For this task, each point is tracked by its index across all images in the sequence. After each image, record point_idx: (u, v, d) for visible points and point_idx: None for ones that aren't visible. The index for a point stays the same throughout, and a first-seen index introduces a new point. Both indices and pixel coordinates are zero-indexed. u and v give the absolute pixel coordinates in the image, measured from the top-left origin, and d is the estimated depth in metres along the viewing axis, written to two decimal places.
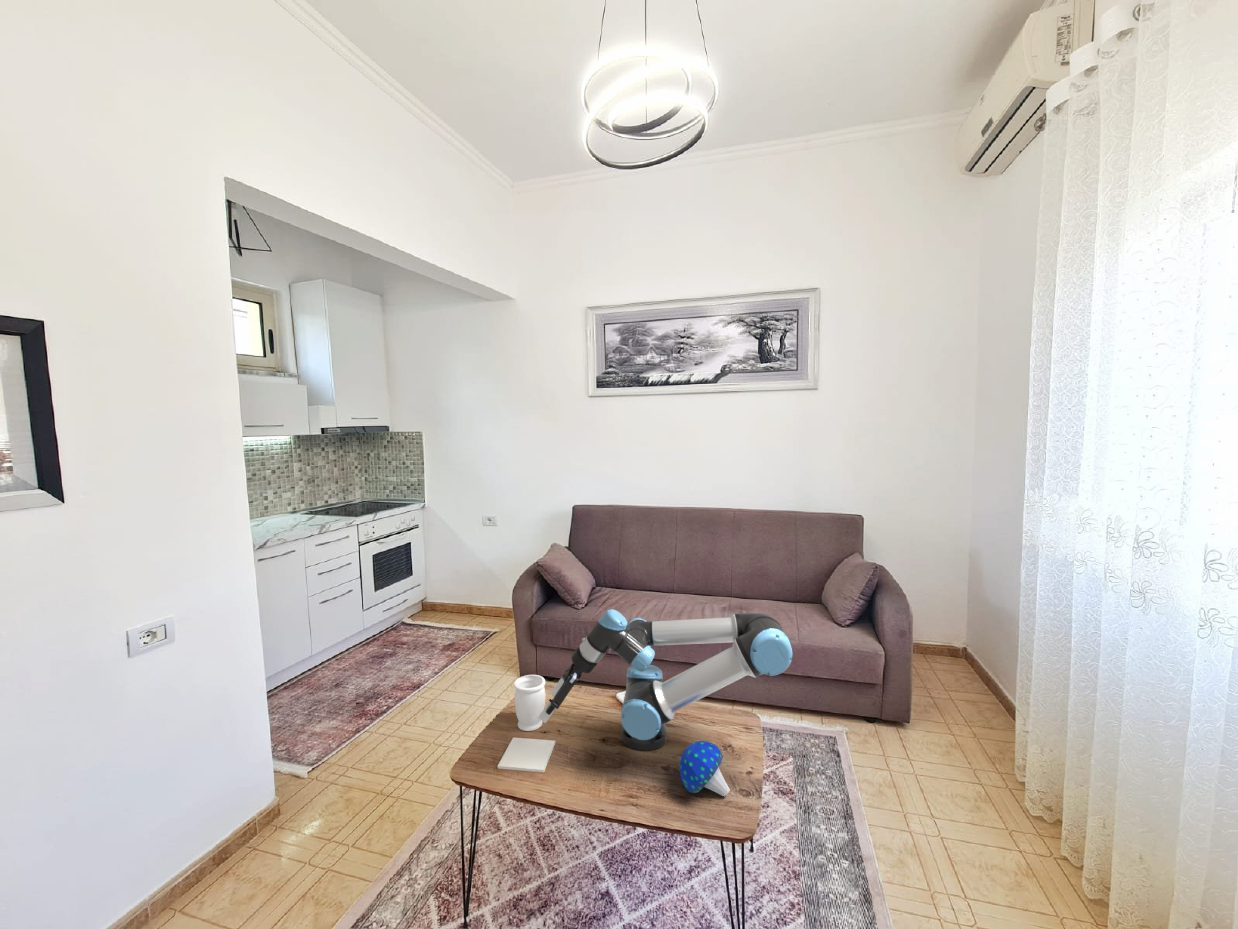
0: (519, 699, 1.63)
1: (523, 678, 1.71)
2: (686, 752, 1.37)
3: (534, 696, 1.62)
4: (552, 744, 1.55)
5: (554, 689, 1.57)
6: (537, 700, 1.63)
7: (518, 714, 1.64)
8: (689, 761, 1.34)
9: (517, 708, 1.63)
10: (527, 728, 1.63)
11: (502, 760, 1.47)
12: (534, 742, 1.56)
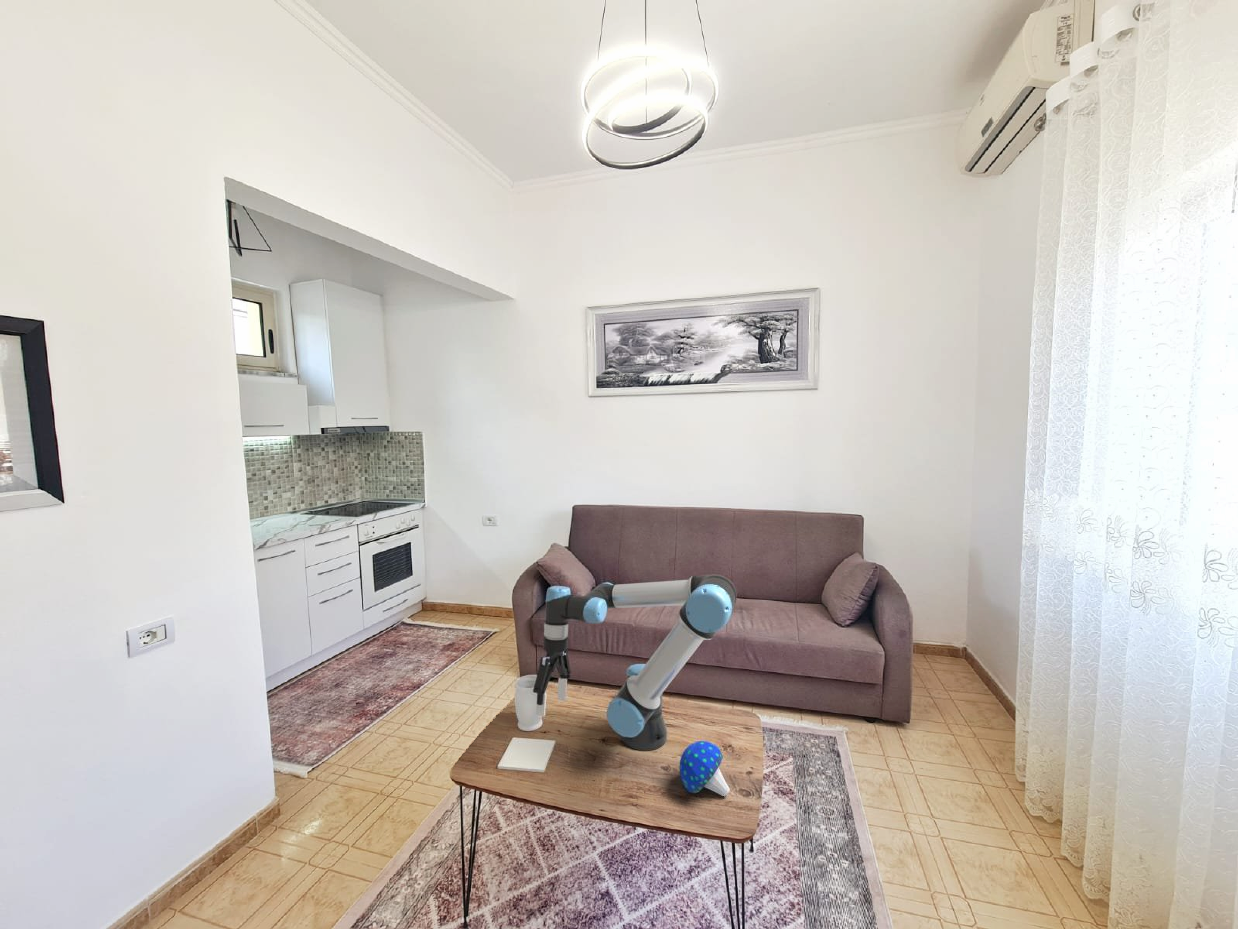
0: (519, 699, 1.63)
1: (523, 678, 1.71)
2: (686, 752, 1.37)
3: (534, 696, 1.62)
4: (552, 744, 1.55)
5: (558, 692, 1.59)
6: None
7: (518, 714, 1.64)
8: (689, 761, 1.34)
9: (517, 708, 1.63)
10: (527, 728, 1.63)
11: (502, 760, 1.47)
12: (534, 742, 1.56)
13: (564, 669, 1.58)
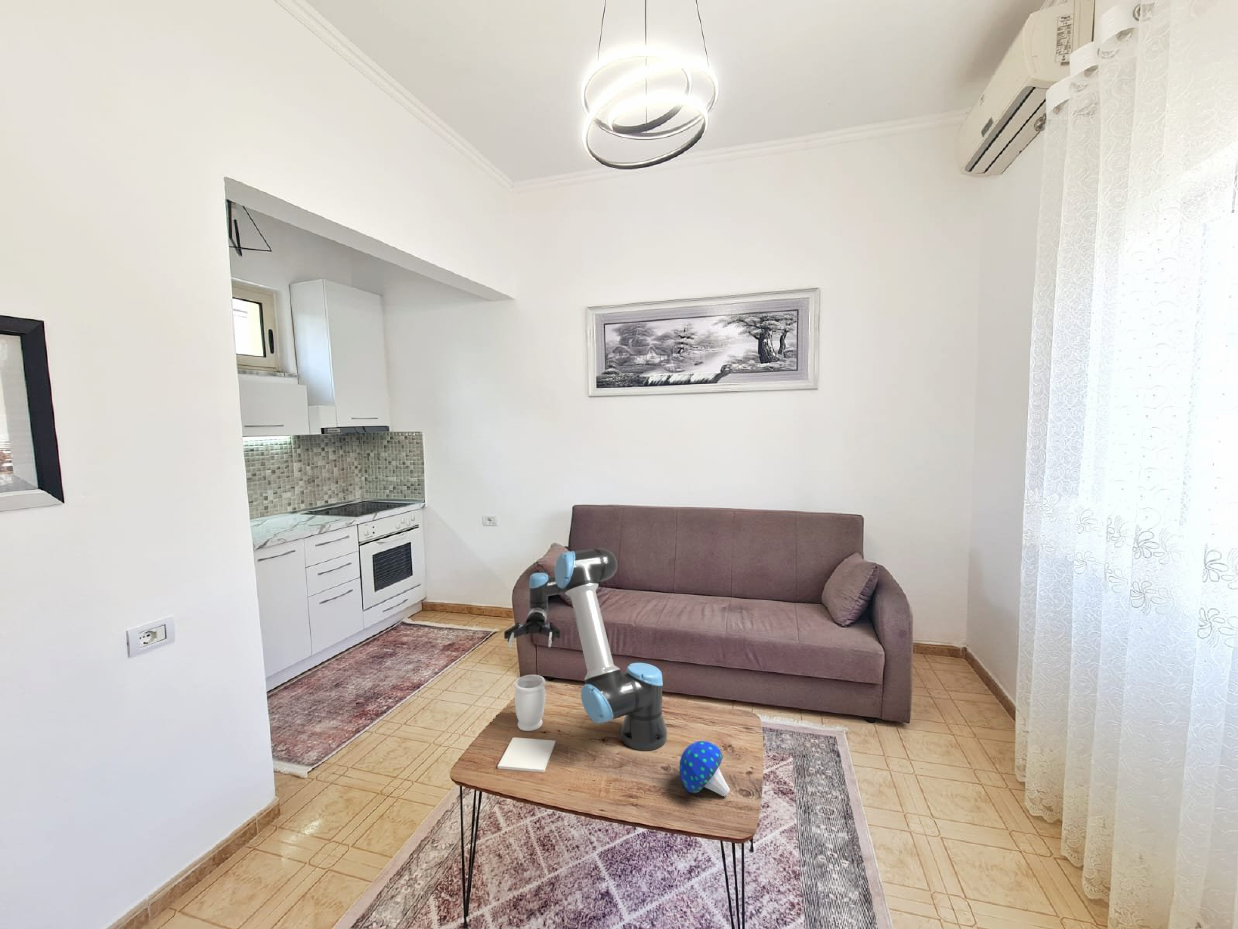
0: (519, 699, 1.63)
1: (523, 678, 1.71)
2: (686, 752, 1.37)
3: (534, 696, 1.62)
4: (552, 744, 1.55)
5: None
6: (537, 700, 1.63)
7: (518, 714, 1.64)
8: (689, 761, 1.34)
9: (517, 708, 1.63)
10: (527, 728, 1.63)
11: (502, 760, 1.47)
12: (534, 742, 1.56)
13: (547, 628, 1.81)
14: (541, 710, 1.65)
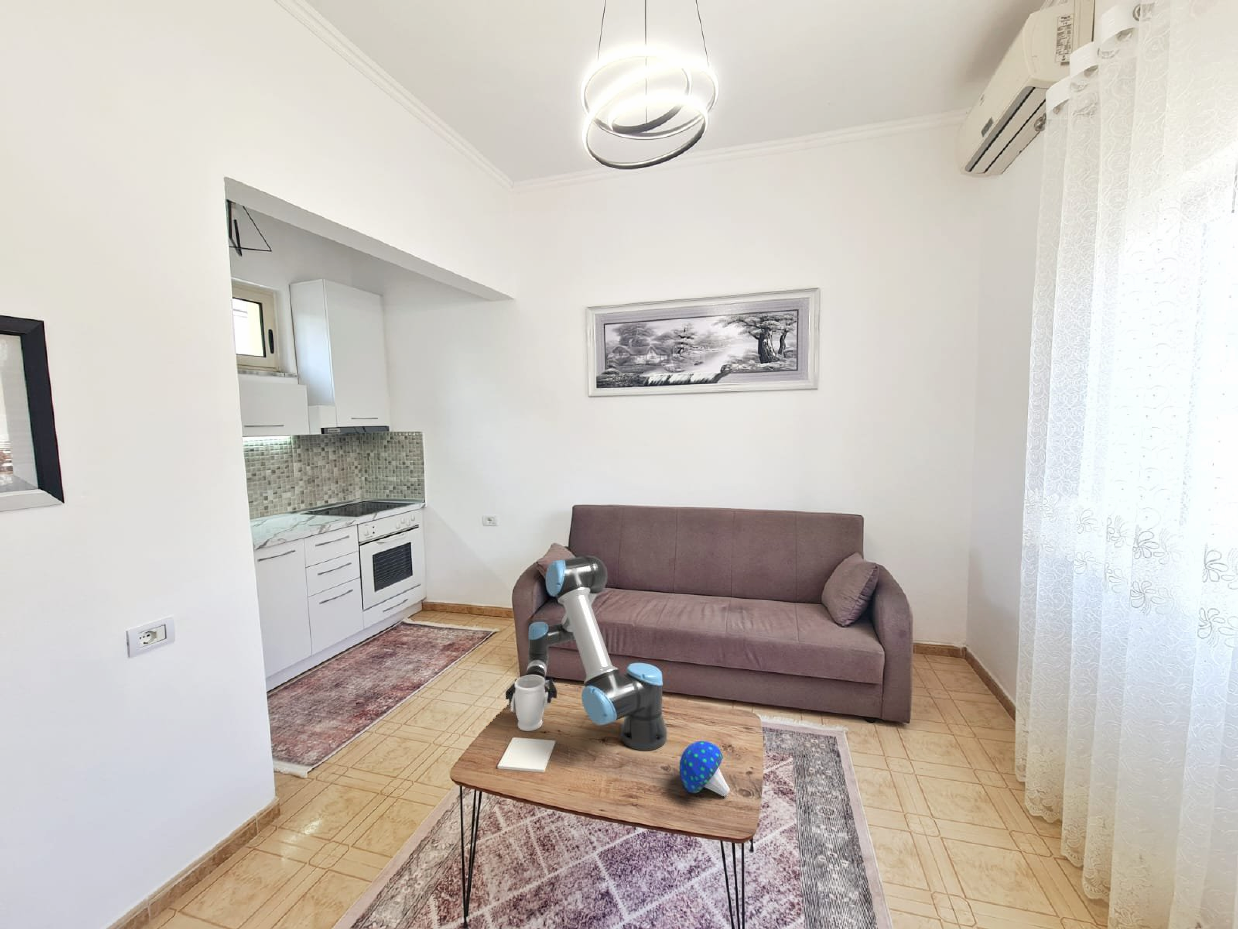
0: (519, 699, 1.63)
1: (523, 678, 1.71)
2: (686, 752, 1.37)
3: (534, 696, 1.62)
4: (552, 744, 1.55)
5: None
6: (537, 700, 1.63)
7: (518, 714, 1.64)
8: (689, 762, 1.34)
9: (517, 708, 1.63)
10: (527, 728, 1.63)
11: (502, 760, 1.47)
12: (534, 742, 1.56)
13: (544, 687, 1.73)
14: (541, 710, 1.65)
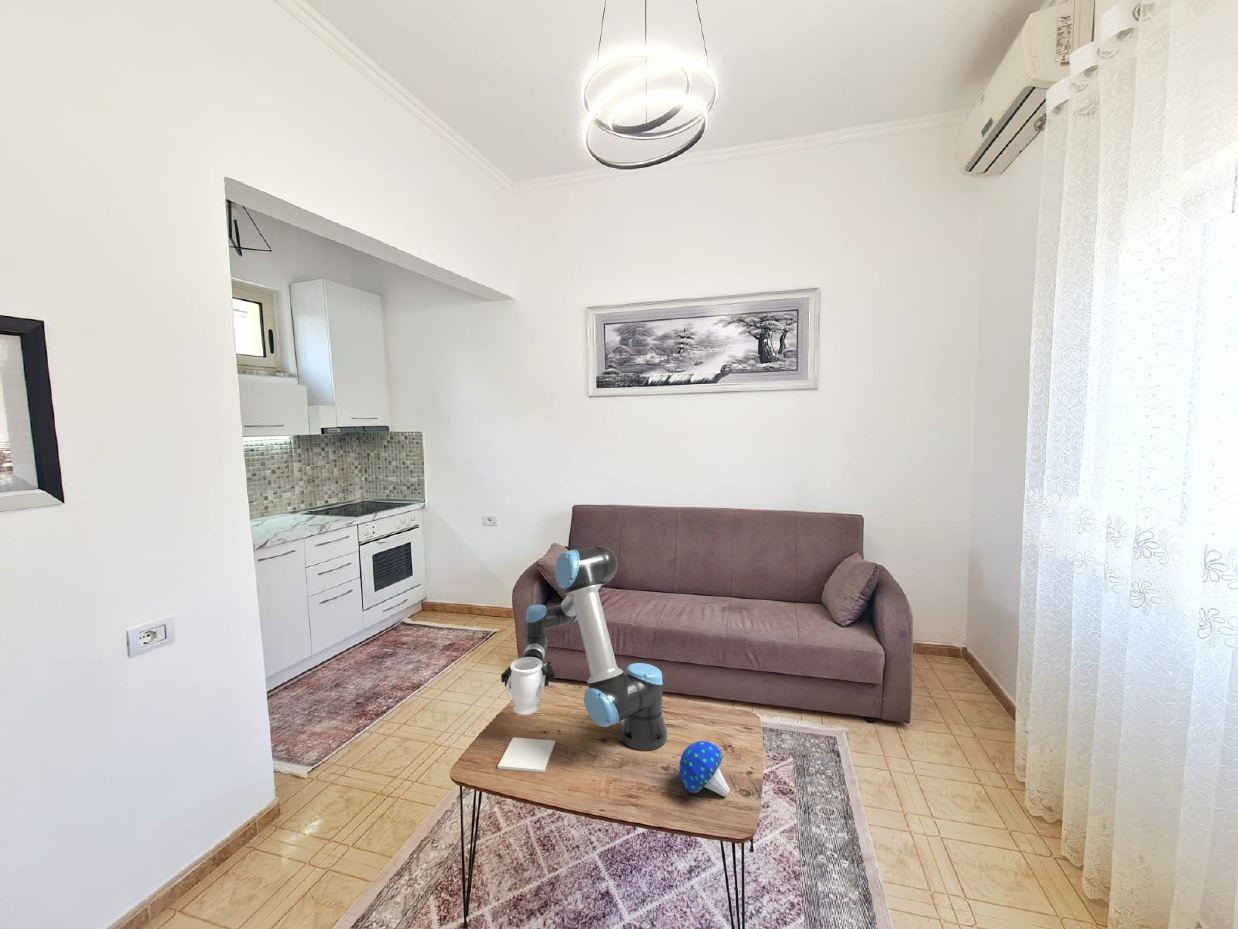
0: (514, 681, 1.55)
1: (519, 660, 1.63)
2: (686, 752, 1.37)
3: (530, 678, 1.55)
4: (552, 744, 1.55)
5: None
6: (534, 683, 1.56)
7: (514, 697, 1.56)
8: (689, 761, 1.34)
9: (513, 691, 1.56)
10: (523, 712, 1.56)
11: (502, 760, 1.47)
12: (534, 742, 1.56)
13: (542, 670, 1.66)
14: (538, 693, 1.58)
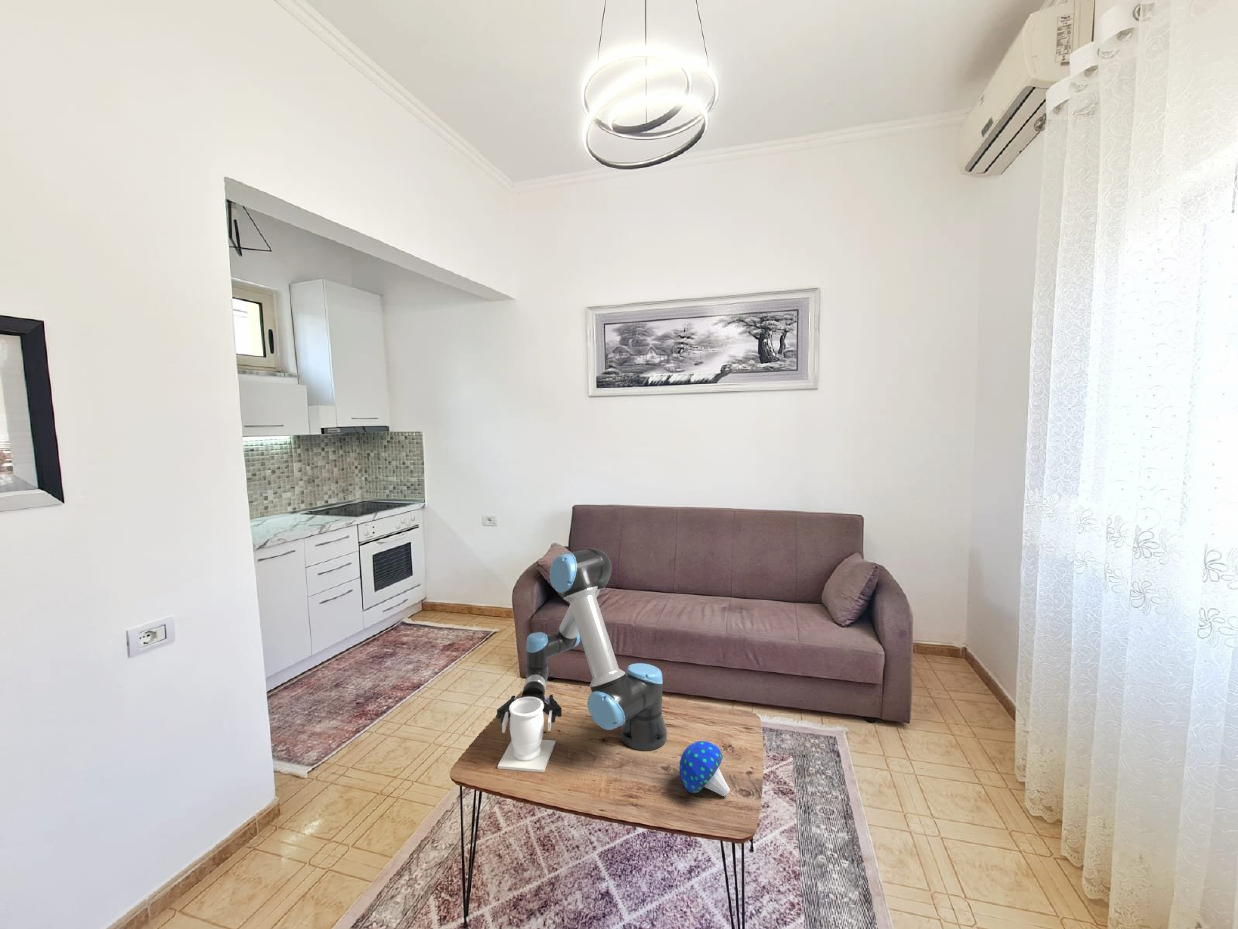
0: (514, 725, 1.46)
1: (519, 701, 1.54)
2: (686, 752, 1.37)
3: (531, 722, 1.46)
4: (552, 744, 1.55)
5: None
6: (535, 727, 1.46)
7: (514, 742, 1.47)
8: (689, 762, 1.34)
9: (512, 735, 1.47)
10: (523, 757, 1.47)
11: (502, 760, 1.47)
12: None
13: (546, 705, 1.58)
14: (539, 737, 1.48)
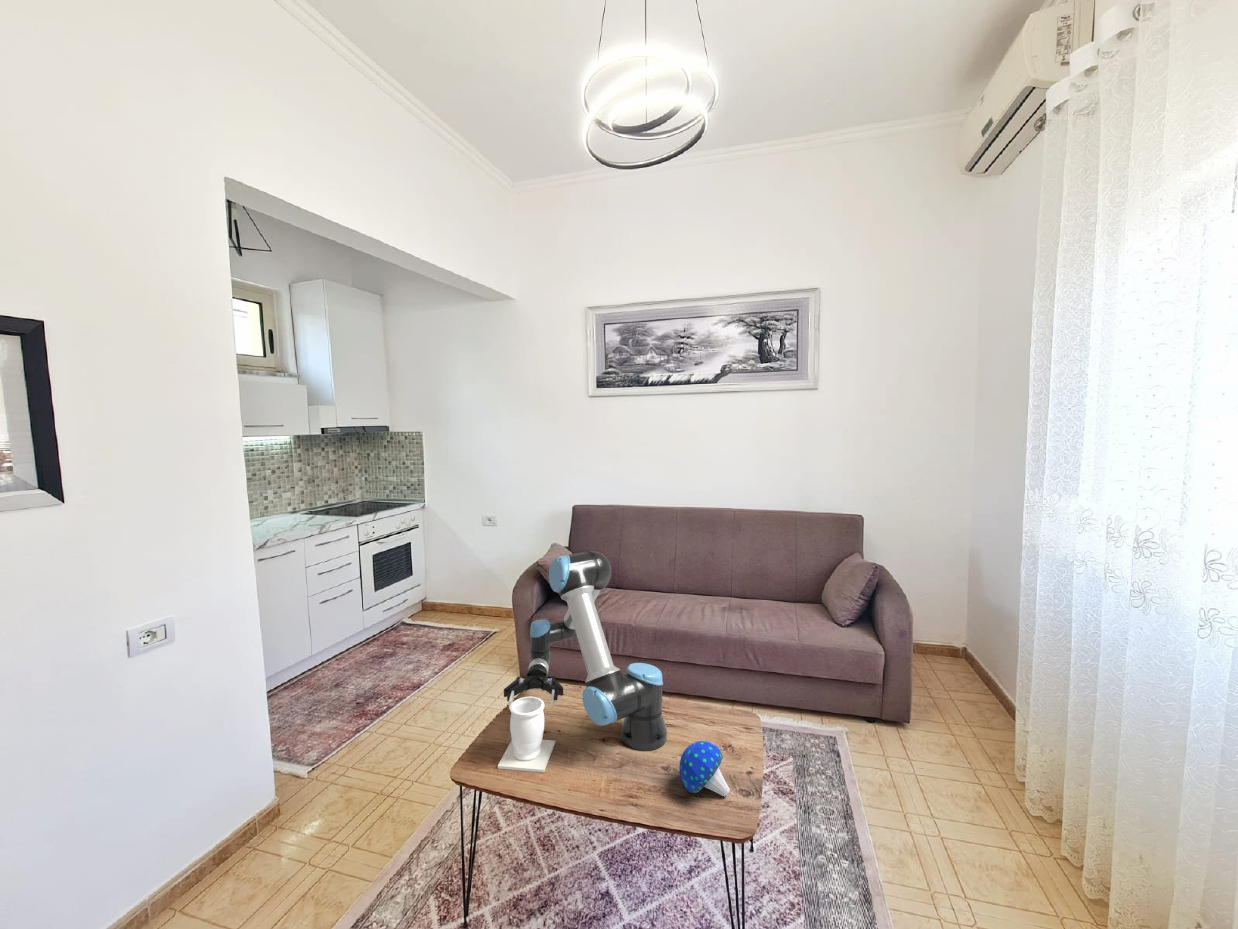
0: (515, 725, 1.46)
1: (520, 700, 1.54)
2: (686, 752, 1.37)
3: (532, 722, 1.46)
4: (552, 744, 1.55)
5: None
6: (535, 726, 1.47)
7: (514, 741, 1.47)
8: (689, 761, 1.34)
9: (513, 735, 1.47)
10: (524, 757, 1.47)
11: (502, 760, 1.47)
12: None
13: (549, 685, 1.70)
14: (539, 737, 1.49)
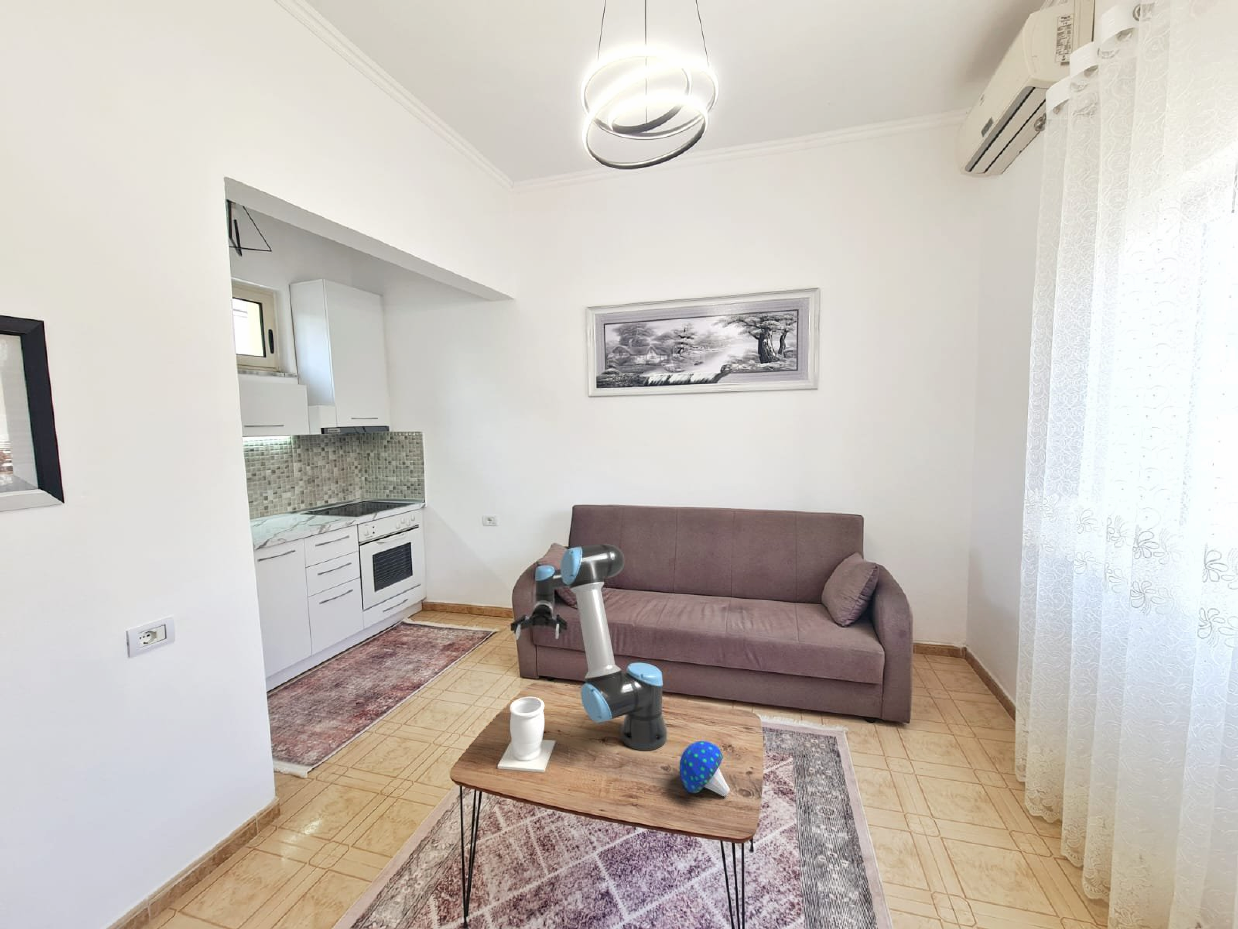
0: (515, 725, 1.46)
1: (519, 701, 1.54)
2: (686, 752, 1.37)
3: (532, 722, 1.46)
4: (552, 744, 1.55)
5: None
6: (535, 727, 1.47)
7: (514, 742, 1.47)
8: (689, 762, 1.34)
9: (513, 735, 1.47)
10: (524, 757, 1.47)
11: (502, 760, 1.47)
12: None
13: (554, 620, 1.79)
14: (539, 737, 1.49)
